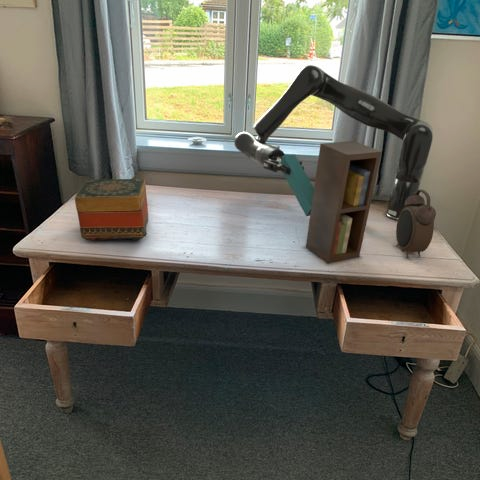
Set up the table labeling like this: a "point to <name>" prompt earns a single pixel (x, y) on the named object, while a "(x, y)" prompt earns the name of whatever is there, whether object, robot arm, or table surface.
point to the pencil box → (299, 182)
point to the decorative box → (112, 209)
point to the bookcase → (341, 199)
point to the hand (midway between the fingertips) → (296, 170)
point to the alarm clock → (415, 224)
